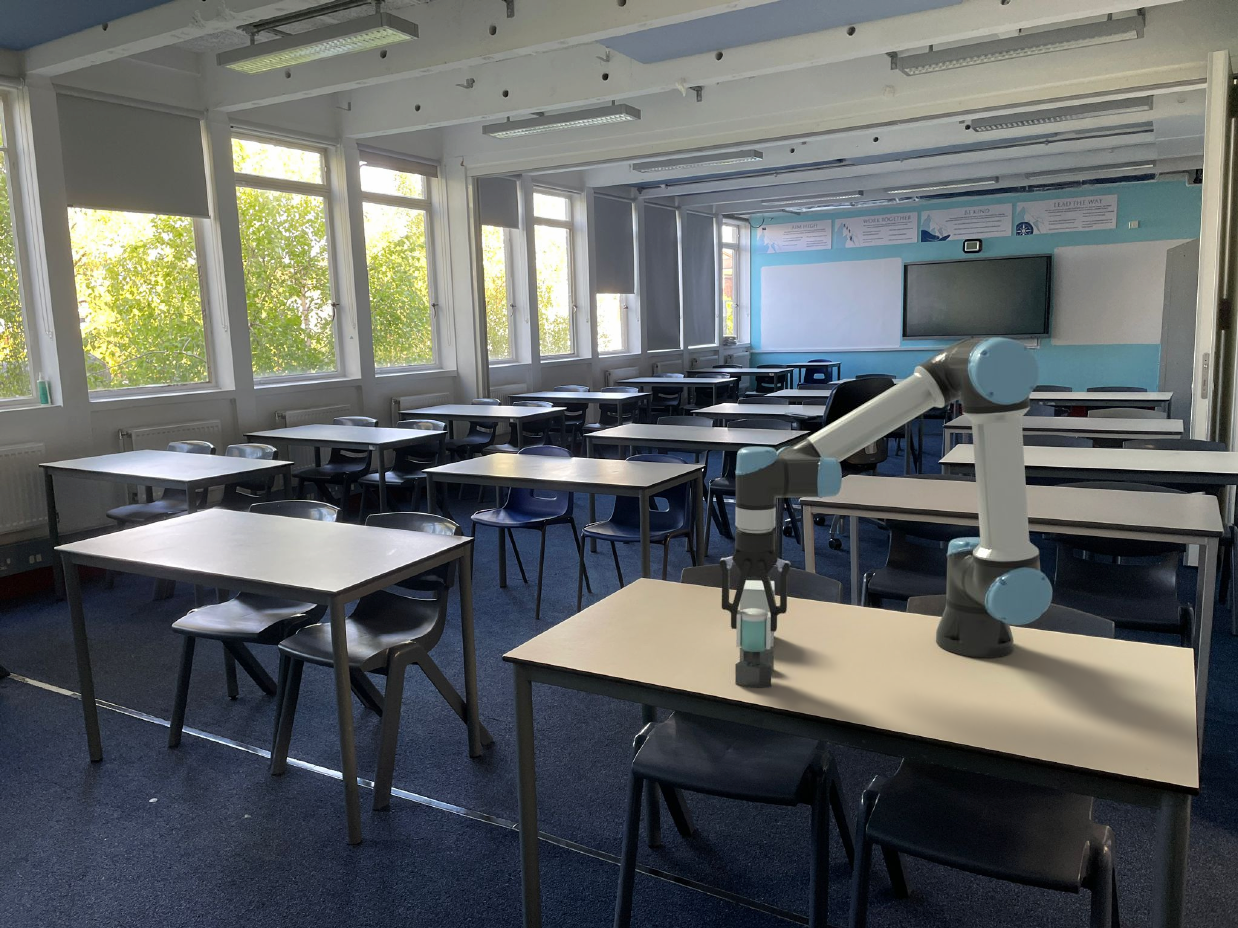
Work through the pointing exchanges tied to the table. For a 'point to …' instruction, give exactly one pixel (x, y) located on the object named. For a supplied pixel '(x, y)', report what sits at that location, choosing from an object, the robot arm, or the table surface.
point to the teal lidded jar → (753, 629)
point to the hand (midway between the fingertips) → (753, 645)
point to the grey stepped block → (754, 668)
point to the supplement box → (756, 598)
